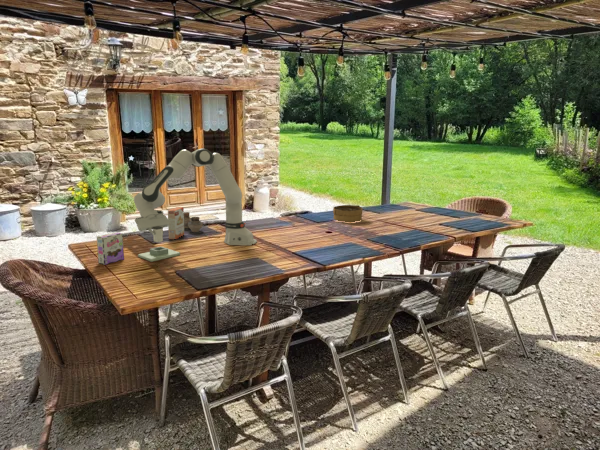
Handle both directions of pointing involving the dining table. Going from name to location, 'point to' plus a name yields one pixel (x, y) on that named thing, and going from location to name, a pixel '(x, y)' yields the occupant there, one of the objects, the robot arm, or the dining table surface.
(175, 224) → the cracker box
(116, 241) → the candy box
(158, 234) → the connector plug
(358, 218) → the steamer basket
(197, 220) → the pottery
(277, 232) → the dining table surface
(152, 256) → the holder plate
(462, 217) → the dining table surface
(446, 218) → the dining table surface
